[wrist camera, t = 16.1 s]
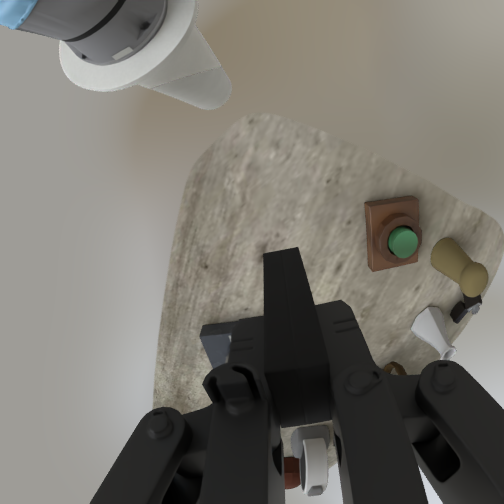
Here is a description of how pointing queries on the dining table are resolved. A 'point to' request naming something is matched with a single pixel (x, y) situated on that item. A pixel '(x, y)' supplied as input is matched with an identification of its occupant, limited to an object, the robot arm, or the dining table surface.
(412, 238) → the button
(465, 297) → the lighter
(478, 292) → the pepper shaker
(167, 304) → the dining table surface
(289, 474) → the muffin
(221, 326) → the plate
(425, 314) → the flask
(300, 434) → the alarm clock
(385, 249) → the button block
